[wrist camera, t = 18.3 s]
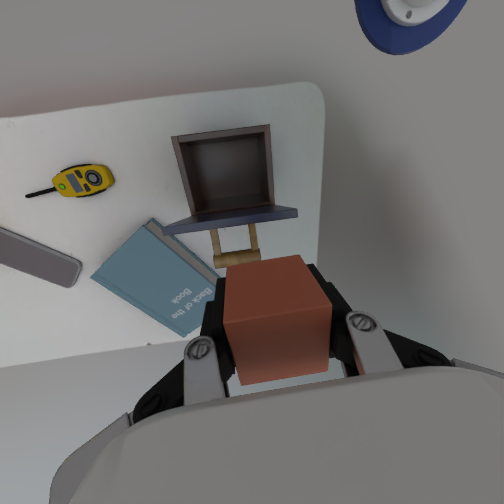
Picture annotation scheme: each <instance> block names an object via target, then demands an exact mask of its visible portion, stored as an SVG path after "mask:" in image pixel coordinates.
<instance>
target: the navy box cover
mask: <svg viewBox="0 0 504 504" xmlns="http://www.w3.org/2000/svg"><path fill="white" fill-rule="evenodd" d="M296 217H298V210H297V209H296V208H290V207H284V206H279V205H270V206H263V207H256V208H248V209H241V210H234V211H226V212H219V213H212V214H205V215H197V216H191V217H188V218H185V219H183V220H180V221H177V222H175V223H172V224H169V225H167V226H164V227H161V229H162V233H163V236H167V235H174V234H181V233H188V232H196V231H203V230H210V234H211V239H212V244H213V250H214V256H213V260H214V266H215V268H224V267H227V266H231V265H238V264H244V263H250V262H256V261H261V254H260V249H259V248H258V243H257V235H256V228H255V223H260V222H267V221H275V220H282V219H289V218H296ZM246 224H248V227H249V234H250V242H251V249H246V250H239V251H232V252H225V253H222V252H221V247H220V241H219V236H218V230H217V228H224V227H232V226H239V225H246Z"/></svg>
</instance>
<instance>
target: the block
mask: <svg viewBox="0 0 504 504" xmlns="http://www.w3.org/2000/svg"><path fill="white" fill-rule="evenodd" d="M331 317H332V304H331V302H330V301H329V299H328V298H327V296H326V295H325V293H324V291H323V290H322V288H321V287H320V285H319V284H318V282H317V281H316V279H315V278H314V276H313V275H312V273H311V272H310V270H309V269H308V267H307V266H306V264H305V262H304V261H303V259H302V258H301V256H300V255H293V256H287V257H280V258H274V259H268V260H262V261H256V262H250V263H244V264H238V265H231V266H227V270H226V286H225V301H224V316H223V325H224V328H225V331H226V335H227V338H228V342H229V345H230V349H231V352H232V356H233V359H234V363H235V366H236V370H237V373H238V376H239V380H240V383H241V385H242V386H244V385H250V384H255V383H261V382H266V381H273V380H279V379H285V378H290V377H297V376H302V375H308V374H314V373H320V372H326V371H328V362H329V347H330V332H331Z"/></svg>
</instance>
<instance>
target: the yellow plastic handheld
mask: <svg viewBox="0 0 504 504" xmlns="http://www.w3.org/2000/svg"><path fill="white" fill-rule="evenodd" d="M60 172H61V173H59V174H57V175H56V176H55V177H54V178H53V179H52V182H53V184H54V187H53V188H49V189H46V190H42V191H38V192H35V193H31V194H27V195H25V197H26V198H31V197H35V196H38V195H42V194H46V193H49V192H53V191H58V192H59V193H60V194H61V195H62V196H65V197H87V196H92V195H95V194H98V193H101V192H103V191H105V190H106V188H108V187H110V186H111V185H112V184H114V178H113V176H112V174H111V172H110V170H109V169H108V168H107V167H106V166H104V165H92V164H81V165H76V166H71V167H69V168H66V169H64V170H62V171H60Z"/></svg>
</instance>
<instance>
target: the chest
mask: <svg viewBox="0 0 504 504" xmlns="http://www.w3.org/2000/svg"><path fill="white" fill-rule="evenodd" d="M171 140H172V143H173V147H174V151H175V155H176V159H177V162H178V166H179V170H180V174H181V178H182V181H183V185H184V189H185V193H186V197H187V200H188V204H189V208H190V212H191V216H197V215H205V214H212V213H219V212H226V211H234V210H241V209H248V208H256V207H263V206H270V205H275V199H274V183H273V167H272V151H271V135H270V124H267V125H259V126H251V127H244V128H236V129H228V130H220V131H212V132H204V133H196V134H188V135H180V136H172V137H171Z"/></svg>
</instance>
